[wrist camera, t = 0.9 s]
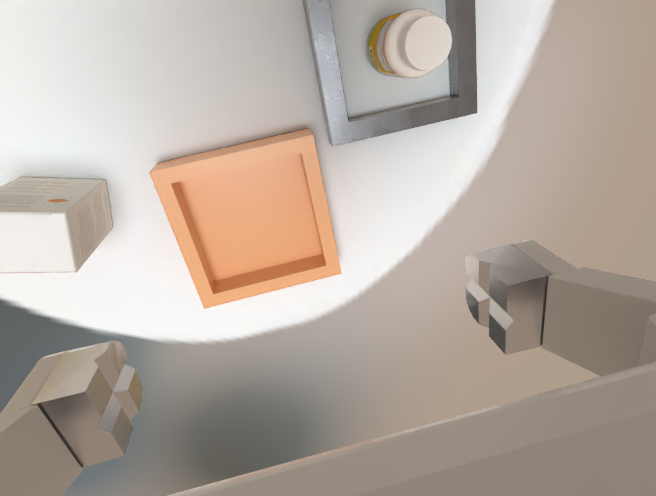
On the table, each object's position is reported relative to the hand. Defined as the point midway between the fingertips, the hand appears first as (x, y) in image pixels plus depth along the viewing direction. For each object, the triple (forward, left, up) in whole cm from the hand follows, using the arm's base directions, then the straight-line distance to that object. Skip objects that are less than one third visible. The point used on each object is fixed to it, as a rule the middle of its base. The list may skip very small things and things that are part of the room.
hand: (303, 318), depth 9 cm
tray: (+10, -4, -36) cm, 37 cm away
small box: (+4, -22, -36) cm, 42 cm away
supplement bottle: (-4, +14, -36) cm, 39 cm away
